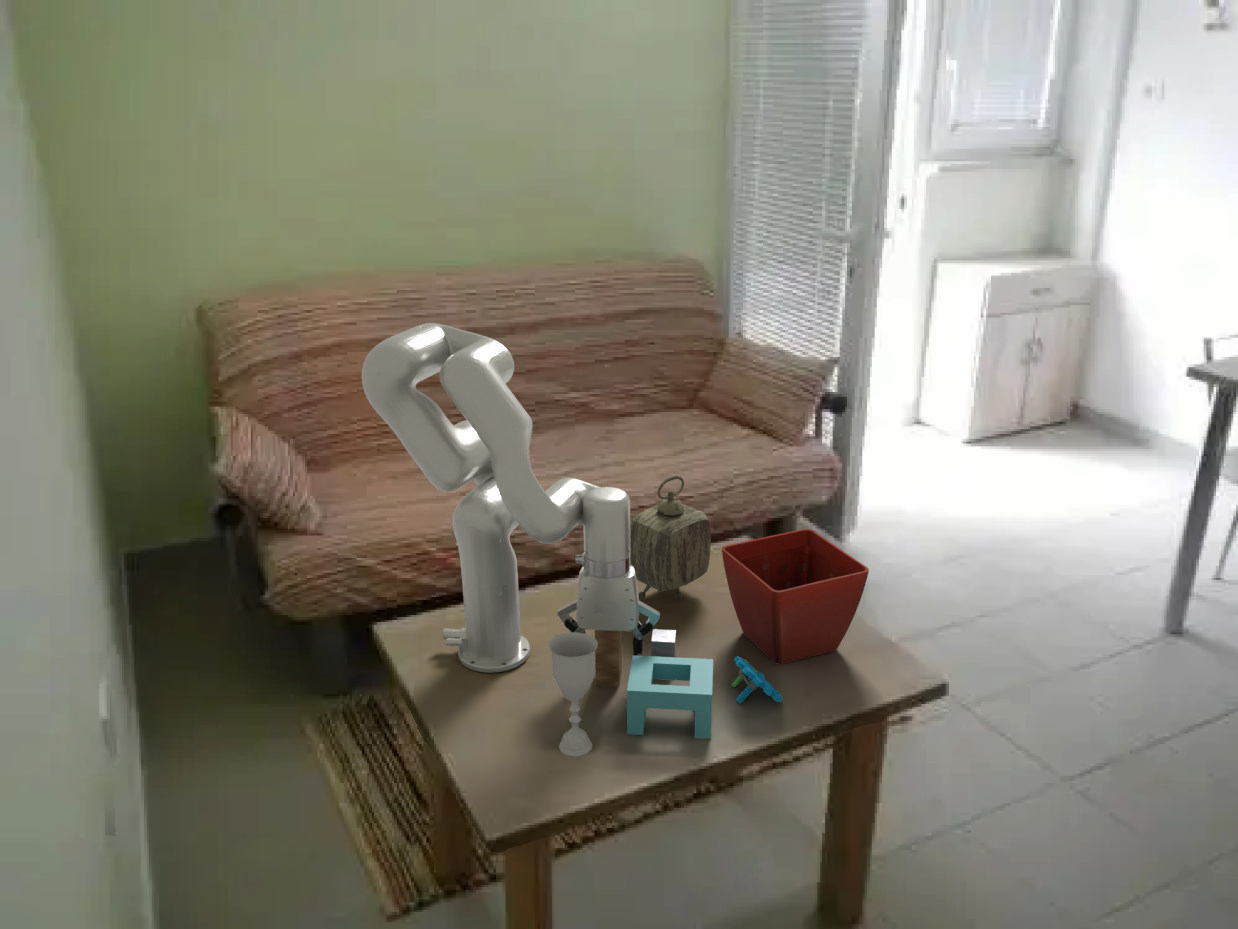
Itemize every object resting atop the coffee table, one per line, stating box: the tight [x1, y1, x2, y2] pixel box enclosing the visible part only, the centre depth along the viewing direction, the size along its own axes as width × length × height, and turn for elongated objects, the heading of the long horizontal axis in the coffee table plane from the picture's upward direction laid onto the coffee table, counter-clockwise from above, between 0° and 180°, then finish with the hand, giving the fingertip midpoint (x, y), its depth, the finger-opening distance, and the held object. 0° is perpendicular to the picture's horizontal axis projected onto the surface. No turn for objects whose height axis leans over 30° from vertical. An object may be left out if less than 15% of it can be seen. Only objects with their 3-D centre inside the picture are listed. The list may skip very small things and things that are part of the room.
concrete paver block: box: [650, 628, 677, 657], centre depth 178 cm, size 4×4×6 cm
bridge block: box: [626, 654, 714, 739], centre depth 163 cm, size 13×10×8 cm
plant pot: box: [721, 528, 870, 665], centre depth 183 cm, size 19×19×17 cm
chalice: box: [547, 631, 598, 757], centre depth 155 cm, size 7×7×18 cm
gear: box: [731, 655, 784, 704], centre depth 169 cm, size 11×6×10 cm
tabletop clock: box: [630, 475, 712, 601], centre depth 198 cm, size 14×9×25 cm, turn 133°
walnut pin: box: [594, 630, 623, 687], centre depth 173 cm, size 4×4×12 cm
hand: (609, 655), depth 173 cm, fingers open, 8 cm apart
